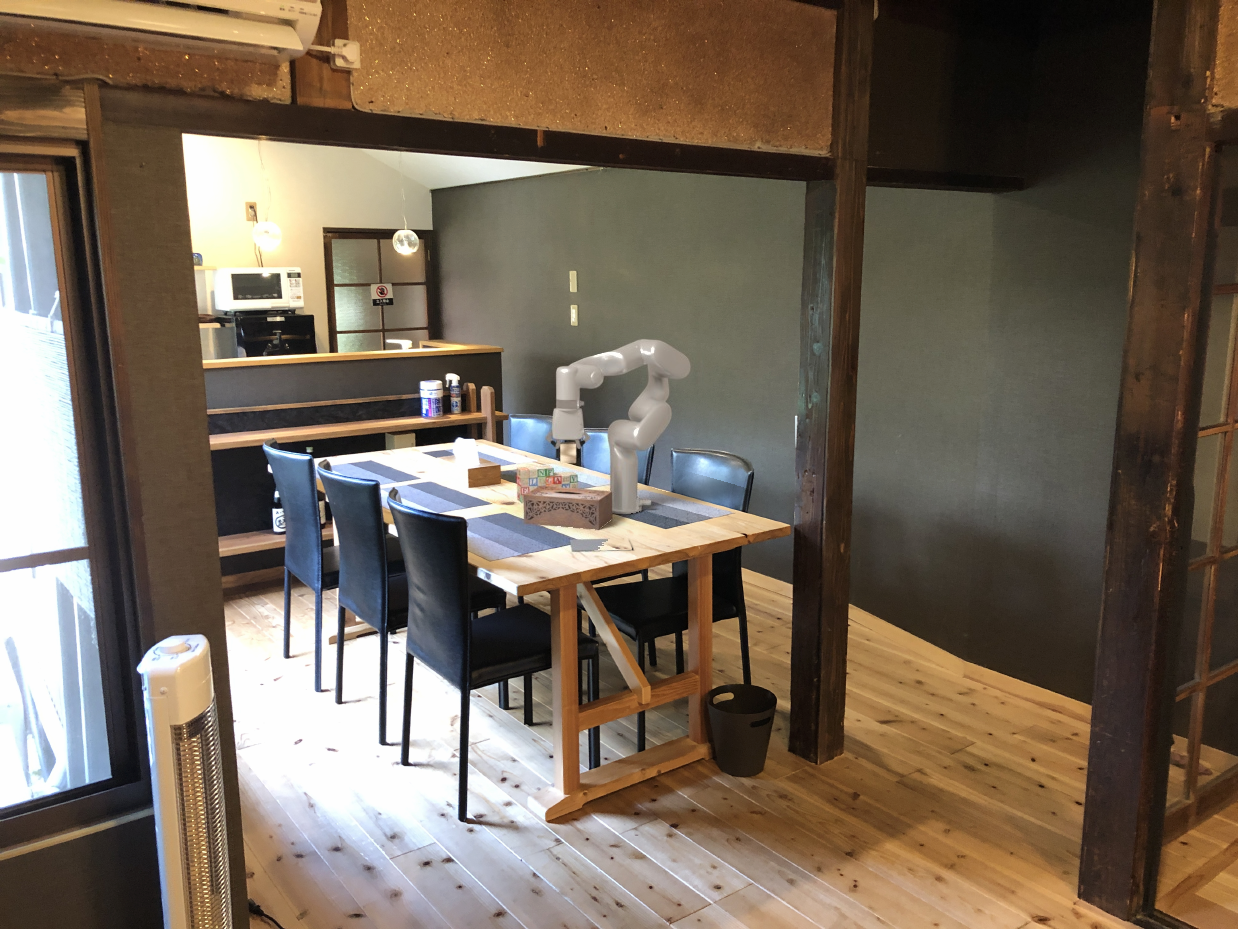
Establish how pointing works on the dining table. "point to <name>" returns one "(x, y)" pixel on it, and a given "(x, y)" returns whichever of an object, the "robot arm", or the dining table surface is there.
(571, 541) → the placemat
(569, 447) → the maple block
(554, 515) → the tissue box cover
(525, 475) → the stack of blocks
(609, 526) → the dining table surface
